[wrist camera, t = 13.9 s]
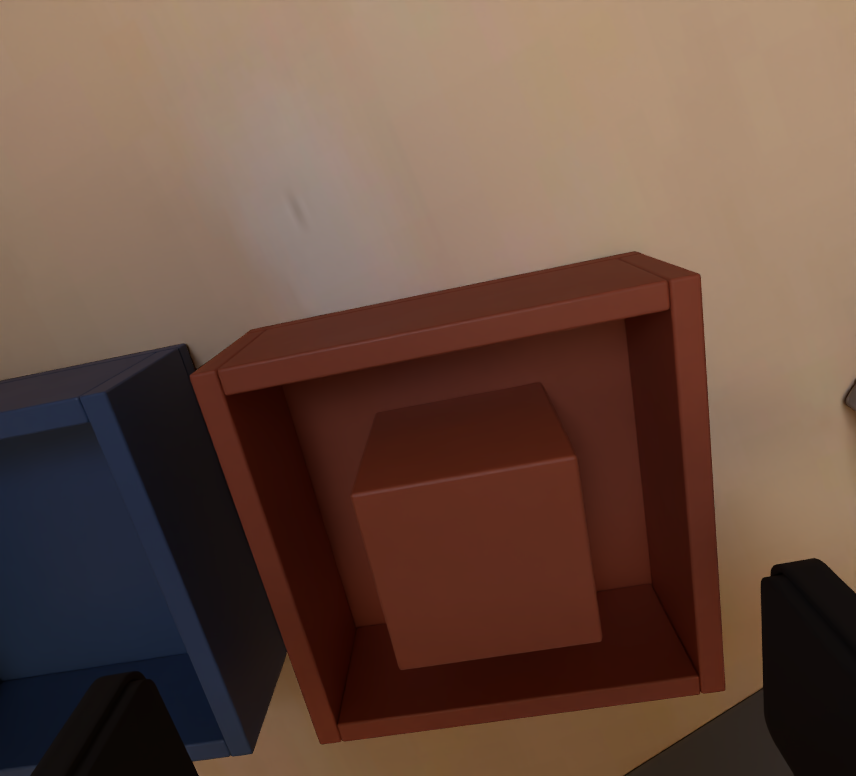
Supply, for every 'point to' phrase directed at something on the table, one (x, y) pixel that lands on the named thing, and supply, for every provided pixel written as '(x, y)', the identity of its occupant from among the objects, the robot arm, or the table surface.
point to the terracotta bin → (461, 376)
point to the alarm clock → (724, 748)
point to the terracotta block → (476, 529)
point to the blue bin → (125, 559)
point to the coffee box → (852, 398)
